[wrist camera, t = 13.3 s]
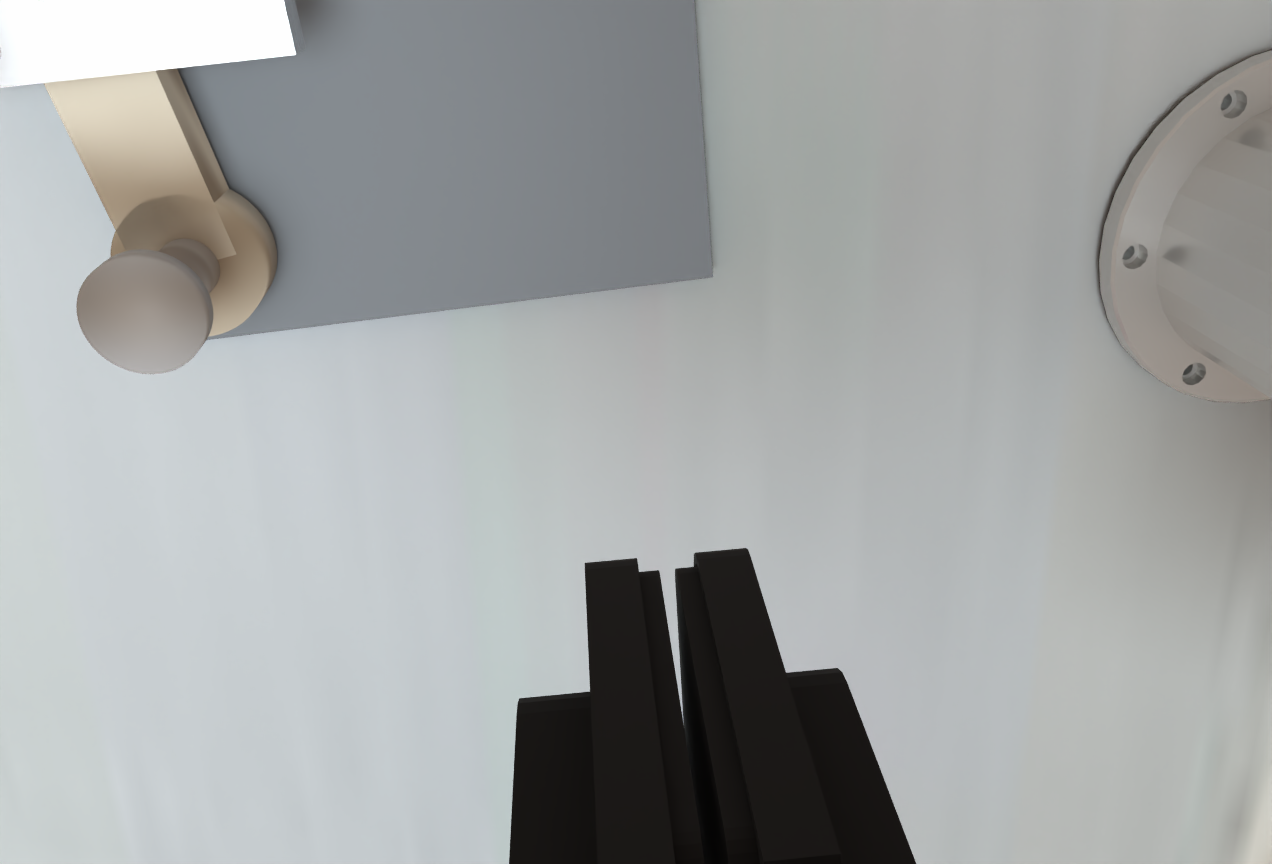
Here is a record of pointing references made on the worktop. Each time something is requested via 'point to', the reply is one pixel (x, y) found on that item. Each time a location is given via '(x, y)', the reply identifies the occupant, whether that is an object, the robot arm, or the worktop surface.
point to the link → (161, 223)
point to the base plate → (465, 154)
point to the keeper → (138, 36)
